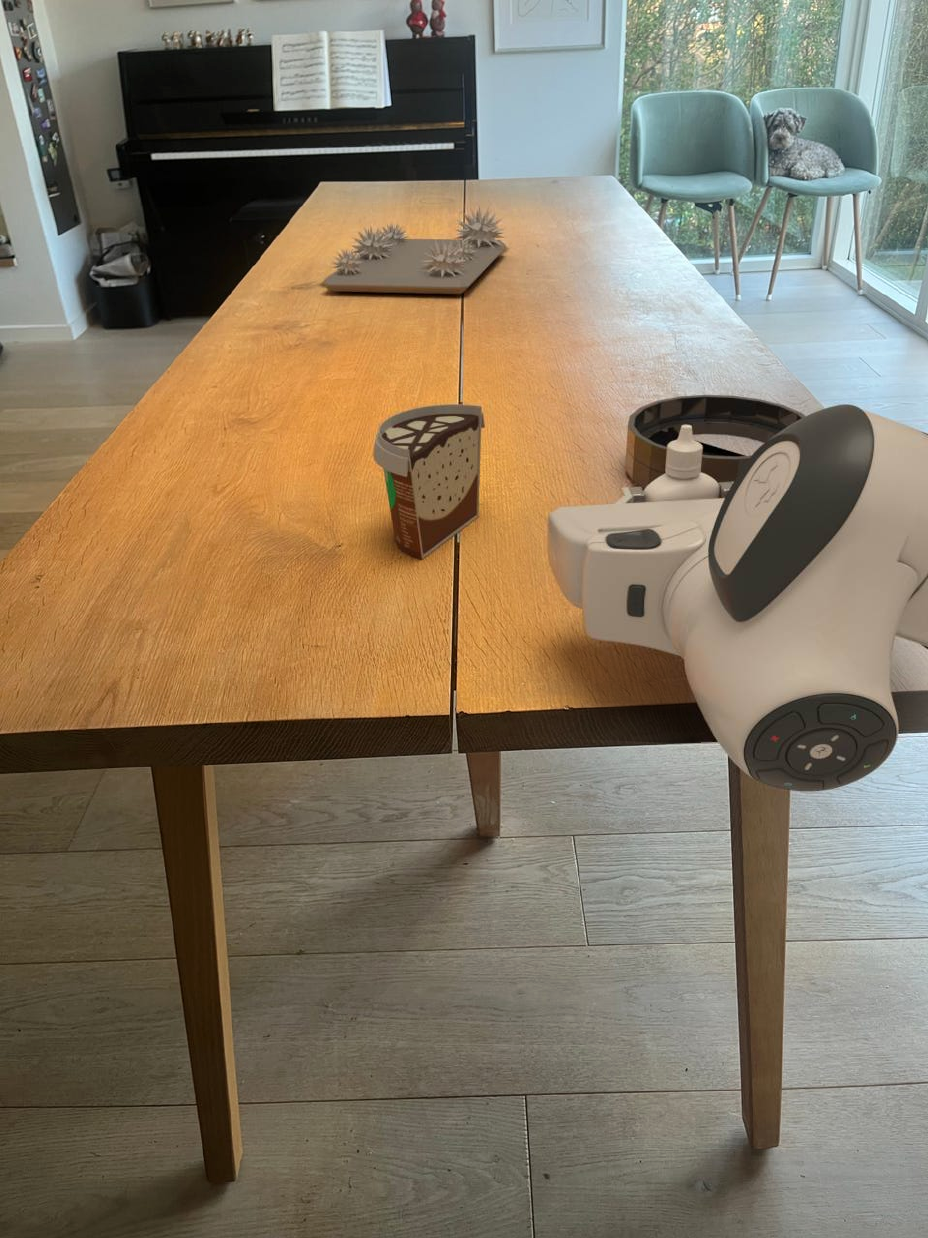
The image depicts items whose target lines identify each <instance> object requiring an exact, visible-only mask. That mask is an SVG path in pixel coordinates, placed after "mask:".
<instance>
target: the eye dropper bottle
mask: <svg viewBox="0 0 928 1238" xmlns="http://www.w3.org/2000/svg"><path fill="white" fill-rule="evenodd" d="M694 440H695V439H694V435H693V433H692V426H691V425H682V426H681V430H680V433H679V437H678V439H677V440H674V441H672V442H670V443H669V444H668V445H667V455H666V469H665V472H666V473H665V474H663V475H662V476H660V477H658V478H657V479H655V480H654V481H652V482H651V483H650V484H649V485H648V486H647V487H646V488H644V489H643V491H644V493H645V502H661V501H680V500H699V499H717V498H719V496H720V487H719V485H718V483H717V482H716V480H714V479H713V478H712V477H710V476H708V475H706V474H704V473H701V461H702V450H703V446H702V445H701V444H700V443H699V442H700V441H699V442H697V441H698V440H695V441H694Z"/></svg>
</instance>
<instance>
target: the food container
mask: <svg viewBox="0 0 928 1238" xmlns="http://www.w3.org/2000/svg"><path fill="white" fill-rule="evenodd" d="M482 409H483V407H482V406H481V405H475V404H460V403H457V404H456V403H450V404H449V403H448V404H447V403H446V404H445V403H444V404H435V405H434V404H433V405H426V406H420V407H414V408H411V409H407V410H404V411H401V412H397V413H396V414H393V415H391V416H389V417H388V418H386V419H384V420H383V421H382V422H381V423H380V425H379V427H378V431H377V433H376V434H375V440H374V446H373V455H372V456H373V460H374V461H375V463H376V465H378V466H379V467H381V469H382V470H383V476H384V482H385V487H386V493H387V499H388V505H389V511H390V517H391V523H392V531H393V535H394V541H395V544H396V547H398V549H399V550H400V551H401V552H403V553H404V554H407V555H408V556H410V557H413V558H415V559H419V560H424V559H425V558H427V557H428V556H429V555H430V554H432V553H433V552H434V551H436V550H437V549H438V548H440V547H441V546H442V545H444V544H445V543H446V542H448V541H449V540H450V539H451V538H453V537H455V535H457V534H458V533H460V532H461V531H462V530H464V529H465V528H466V527H467V526H469V525H470V524H471V523H473V522H474V521H475V520H477V519H478V518H479V517H480V488H481V487H480V484H481V483H480V482H481V454H482V453H481V451H482V429H485V428H486V423H485V417H484V412H482V411H483V410H482Z"/></svg>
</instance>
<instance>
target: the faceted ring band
mask: <svg viewBox="0 0 928 1238" xmlns="http://www.w3.org/2000/svg"><path fill="white" fill-rule="evenodd" d="M806 416H807V415H805V414H804V413H803V412H801V411H798V410H796V409H794V408H791V407H789V406H786V405H784V404H780V403H776V402H773V401H770V400H769V401H768V400H765V399H760V398H754V397H745V396H739V395H727V394H726V395H724V394H696V395H680V396H674V397H669V398H665V399H660V400H655V401H653V402H650V403H648V404H645V405H642V406H640V407H638V408H637V409H636V410H635V411H634V412H632V414H630V415H629V416H628V422H627V430H626V431H627V433H626V450H625V451H626V452H625V466H624V468H625V469H624V470H625V471H626V473H627V474H628V476H629V477H630V479H631V481H632V482H634V483H636V484H637V485H639V486H640V487H642V488H644V489H645V488H646V487H647V486H648V485H649V484H650V483H651V482H652V481H654V480H655V479H657V478H658V477H660V476H662V475H663V474H665V473H666V472H665V469H666V455H667V445H668V444H669V443H670V442H672V441H674V440H677V439H678V437H679V433H680V430H681V426H682V425H691V426H692V433H693V436H695V435H719V436H722V435H724V436H731V437H732V436H733V437H739V438H746V439H750V440H753V441H757V442H759V443H760V442H761V443H763V444H764V443H765V442H767V441H768V440H769V439H771V438H772V437H774V436H775V435H776V434H778V433H779V432H781V431H782V430H783V429H785V428H787V427H788V426H790V425H791V424H793V423H794V422H796V421H798V420H800V419H802V418H804V417H806ZM694 441H697V442H699V443H700V444H701V445H702V446H703V450H702V461H701V473H704V474H706V475H708V476H710V477H712V478H713V479H714V480H716V482H717V483H719V482H734V481H735V479H736V477H737V476H738V474H739V473H740V471H741V470H742V468H743V467H744V465H745V464H746V462H747V461H748V460H749V458H750V457H751V456H752V455H745V454H743V453H738V452H735V451H732V450H729V449H726V448H722V447H718V446H715V445H712V444H709V443H705V442H702V441H698V440H695V439H694Z"/></svg>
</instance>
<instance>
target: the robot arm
mask: <svg viewBox="0 0 928 1238" xmlns="http://www.w3.org/2000/svg"><path fill="white" fill-rule="evenodd" d="M805 416H806V417H804V418H802V419H800V420H798V421H796V422H794V423H793V424H791V425H790V426H788V427H787V428H785V429H783V430H782V431H781V432H779V433H778V434H776V435H775V436H774V437H772V438H771V439H769V440H768V441H767V442H765V443H764V442H763V444H761V445H760V446H759V447H758V448H757V449H756V450H755V451H754V452H753V453H752V454H751V455H750V456H751V457H750V458H749V460H748V461H747V462H746V464H745V465H744V467H743V468H742V470H741V471H740V473H739V474H738V476H737V477H736V479H735V481H734V482H719V483H718V485H719V487H720V496H719V498H717V499H699V500H680V501H661V502H645V493H644V489H643V487H642V486H631V487H630V486H625V487H623V486H622V487H620V490H619V499H618V500H616V501H615V502H614V503H609V504H608V503H607V504H589V505H566V506H559V507H557V508H555V509H554V510H553V511H551V512H550V513H549V514H548V516H547V520H546V521H547V522H546V548H547V550H546V551H547V559H548V563H549V566H550V569H551V573H552V575H553V577H554V580H555V582H556V584H557V586H558V588H559V590H560V592H561V593H562V594H563V596H564V598H565V599H566V600H567V601H568V602H569V603H570V604H571V605H573V606H574V607H576V608H578V609H580V610H581V613H582V620H583V628H584V632H585V634H586V635H587V636H588V637H589V638H591V639H595V640H598V641H604V642H612V643H620V644H627V645H633V646H640V647H645V648H649V649H653V650H657V651H662V652H665V653H668V654H671V655H675V656H678V657H680V658H681V659H682V660H683V661H684V669H685V670H684V671H685V677H686V679H687V682H688V685H689V687H690V690H691V692H692V695H693V697H694V699H695V702H696V704H697V706H698V708H699V711H700V712H701V715H702V716H703V719H704V720H705V722H706V724H707V726H708V728H709V729H710V731H711V733H712V734H713V736H714V738H715V739H716V741H717V742H718V744H719V746H720V747H721V749H723V751H724V753H725V754H726V755H727V756H728V757H729V759H730V760H731V761H732V762H733V763H734V764H735V765H736V766H737V767H738V768H739V769H740V770H741V771H742V772H743V773H745V774H746V775H747V776H749V777H750V778H751V779H753V780H755V781H757V782H760V783H761V784H764V785H768V786H771V787H774V788H778V789H783V790H786V791H787V790H788V791H795V792H807V793H809V792H810V793H811V792H823V791H828V790H834V789H839V788H842V787H844V786H847V785H850V784H852V783H855V782H857V781H859V780H861V779H863V778H865V777H867V776H869V775H870V774H872V773H873V772H874V771H876V770H877V769H878V768H879V767H880V766H881V765H882V764H884V763H885V762H886V760H888V758H889V757H890V755H891V754H892V752H894V749H895V747H896V744H897V741H898V738H899V733H900V732H899V730H900V725H899V718H898V713H897V710H896V706H895V702H894V699H893V694H892V690H891V666H892V659H893V658H892V656H893V649H894V644H895V640H896V637H898V638H901V639H903V640H907V641H910V642H912V643H916V644H918V645H920V646H922V647H923V648H925V649H926V650H928V433H927V432H924V431H922V430H919V429H917V428H914V427H911V426H908V425H906V424H904V423H900V422H898V421H895V420H894V419H893V420H892V419H889V418H887V417H884V416H882V415H880V414H877V413H873V412H870V411H868V410H865V409H861V407H858V406H857V405H854V404H849V403H848V404H845V403H844V404H837V405H833V406H829V407H826V408H823V409H820V410H817V411H814V412H812V413H810V414H807V415H805Z"/></svg>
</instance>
